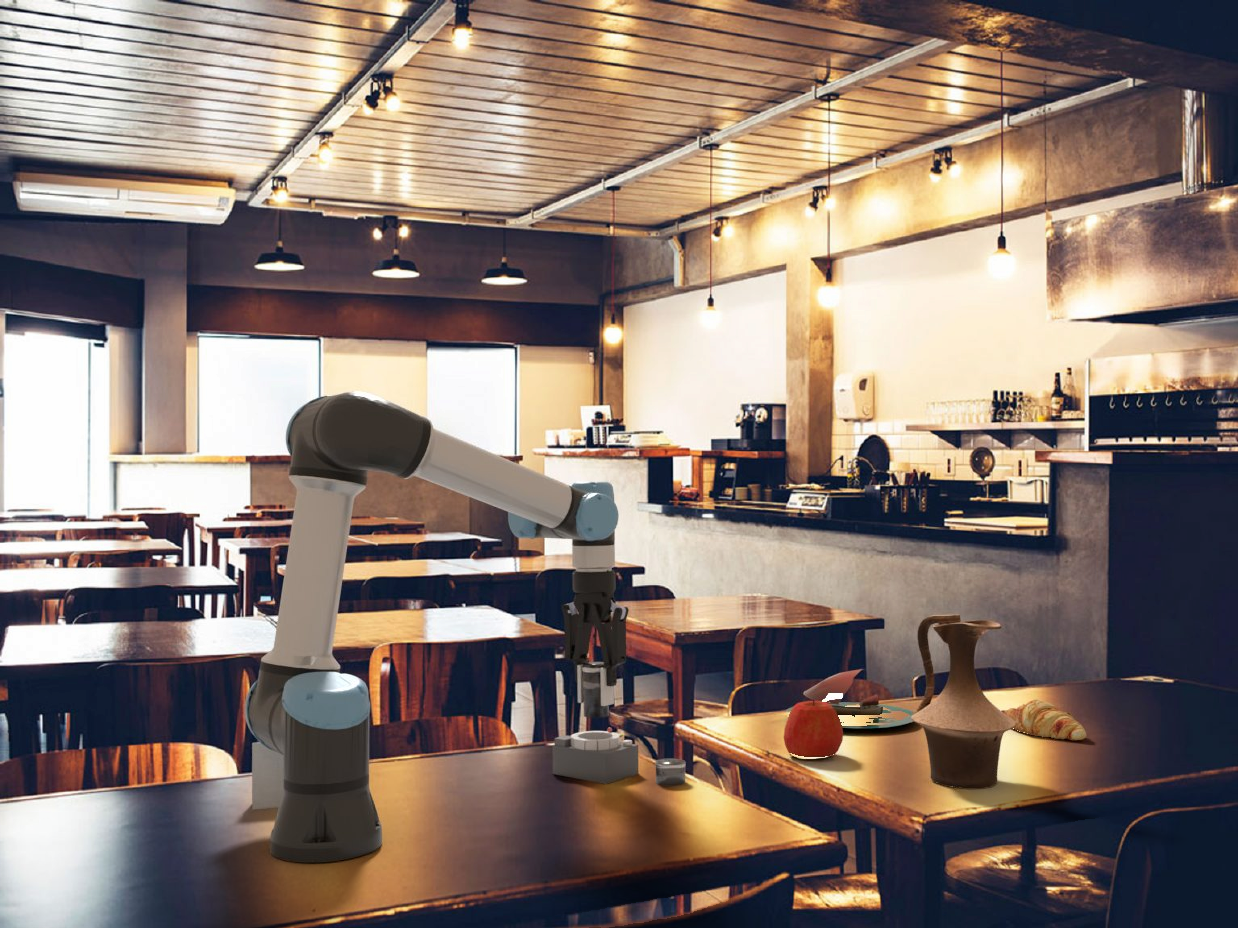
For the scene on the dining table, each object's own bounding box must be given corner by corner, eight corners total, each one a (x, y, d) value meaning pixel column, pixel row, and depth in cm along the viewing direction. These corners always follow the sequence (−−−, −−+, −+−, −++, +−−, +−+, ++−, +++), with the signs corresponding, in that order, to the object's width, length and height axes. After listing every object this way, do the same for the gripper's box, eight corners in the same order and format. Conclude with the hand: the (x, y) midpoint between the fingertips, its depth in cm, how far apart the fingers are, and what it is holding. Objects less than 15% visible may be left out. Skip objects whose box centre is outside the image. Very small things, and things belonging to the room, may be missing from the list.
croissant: (1095, 759, 227) (1108, 721, 229) (1064, 740, 222) (1077, 701, 224) (1010, 737, 245) (1022, 702, 247) (979, 719, 241) (992, 683, 243)
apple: (838, 765, 209) (837, 705, 209) (778, 761, 212) (777, 702, 212) (847, 752, 219) (846, 695, 219) (789, 749, 222) (788, 692, 223)
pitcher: (890, 781, 196) (888, 615, 197) (939, 764, 209) (936, 607, 210) (989, 799, 185) (986, 622, 185) (1035, 779, 197) (1032, 613, 198)
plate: (770, 711, 261) (769, 661, 261) (891, 707, 264) (891, 658, 264) (803, 737, 233) (803, 681, 233) (939, 733, 236) (938, 677, 236)
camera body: (605, 783, 197) (605, 739, 197) (552, 773, 204) (552, 731, 204) (638, 773, 204) (638, 730, 204) (585, 764, 211) (585, 723, 211)
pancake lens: (673, 787, 194) (673, 766, 194) (649, 783, 197) (649, 762, 197) (691, 781, 198) (691, 761, 198) (667, 777, 201) (667, 757, 201)
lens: (597, 718, 201) (597, 666, 201) (577, 715, 204) (576, 664, 204) (614, 714, 205) (613, 663, 205) (594, 711, 208) (593, 660, 208)
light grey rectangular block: (297, 805, 185) (296, 742, 185) (252, 809, 183) (252, 745, 183) (296, 800, 188) (296, 737, 188) (252, 803, 186) (252, 740, 187)
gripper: (646, 569, 202) (649, 704, 202) (570, 566, 213) (571, 694, 213) (619, 572, 196) (622, 711, 196) (542, 569, 207) (544, 701, 207)
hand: (595, 702), depth 204 cm, fingers closed on lens, 5 cm apart
